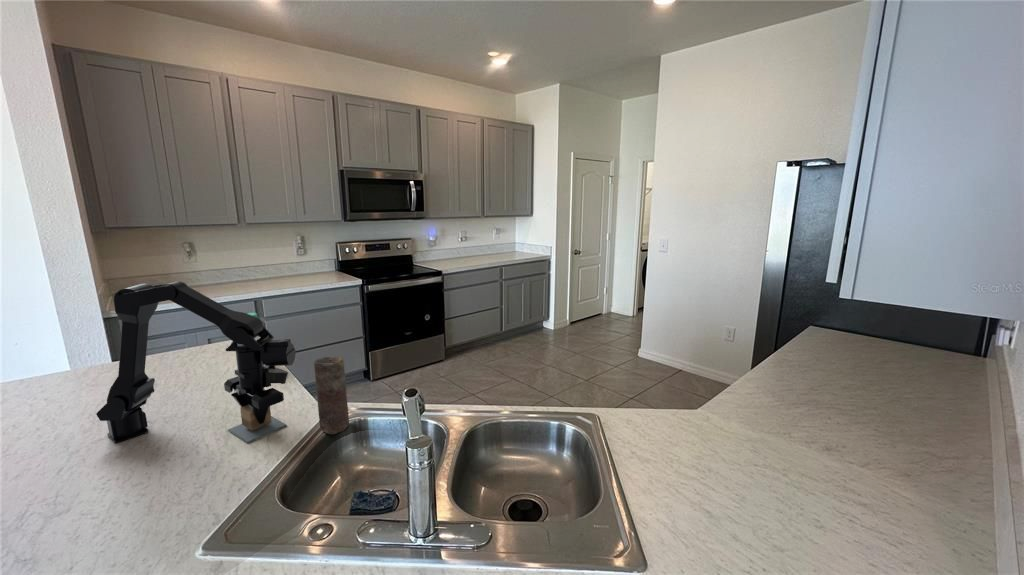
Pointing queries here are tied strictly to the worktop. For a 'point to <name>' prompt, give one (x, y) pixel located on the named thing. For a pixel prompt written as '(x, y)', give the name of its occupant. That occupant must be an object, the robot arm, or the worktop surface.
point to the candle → (331, 394)
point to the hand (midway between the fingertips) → (256, 420)
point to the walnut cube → (253, 418)
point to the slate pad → (256, 430)
